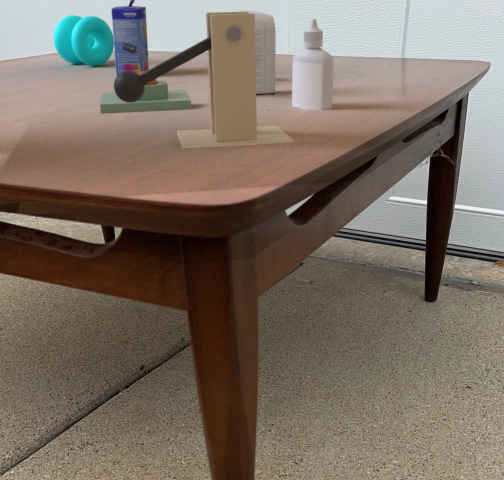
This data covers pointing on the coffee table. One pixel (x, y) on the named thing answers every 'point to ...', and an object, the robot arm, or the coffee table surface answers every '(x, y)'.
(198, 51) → the lever
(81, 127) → the coffee table surface
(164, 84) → the button box
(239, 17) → the bracket
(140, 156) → the coffee table surface
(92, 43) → the cyan double wheel
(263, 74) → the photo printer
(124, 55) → the ink cartridge box
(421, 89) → the coffee table surface
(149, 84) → the button
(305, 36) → the eye dropper bottle
